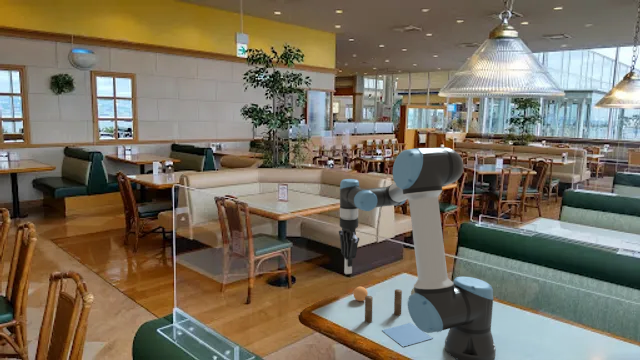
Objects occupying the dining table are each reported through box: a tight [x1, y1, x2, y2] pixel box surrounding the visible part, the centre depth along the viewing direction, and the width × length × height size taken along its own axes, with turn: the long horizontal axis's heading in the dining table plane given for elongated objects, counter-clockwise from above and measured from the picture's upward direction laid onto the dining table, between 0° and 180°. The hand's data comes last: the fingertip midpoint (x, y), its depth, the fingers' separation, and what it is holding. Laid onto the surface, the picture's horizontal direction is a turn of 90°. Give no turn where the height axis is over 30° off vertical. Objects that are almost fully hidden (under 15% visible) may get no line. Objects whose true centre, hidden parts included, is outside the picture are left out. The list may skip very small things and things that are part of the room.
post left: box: [364, 295, 374, 324], centre depth 161 cm, size 3×3×9 cm
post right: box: [393, 289, 403, 316], centre depth 167 cm, size 3×3×9 cm
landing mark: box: [381, 322, 433, 348], centre depth 152 cm, size 12×12×1 cm
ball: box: [352, 286, 369, 302], centre depth 179 cm, size 6×6×6 cm
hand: (348, 272), depth 186 cm, fingers closed
